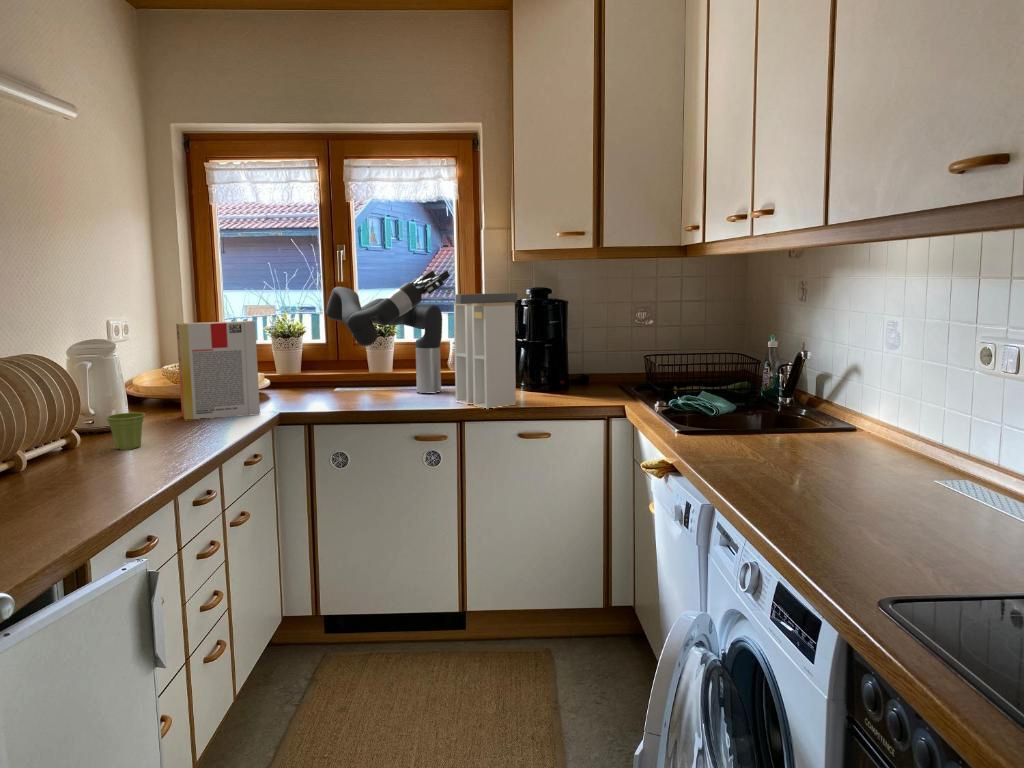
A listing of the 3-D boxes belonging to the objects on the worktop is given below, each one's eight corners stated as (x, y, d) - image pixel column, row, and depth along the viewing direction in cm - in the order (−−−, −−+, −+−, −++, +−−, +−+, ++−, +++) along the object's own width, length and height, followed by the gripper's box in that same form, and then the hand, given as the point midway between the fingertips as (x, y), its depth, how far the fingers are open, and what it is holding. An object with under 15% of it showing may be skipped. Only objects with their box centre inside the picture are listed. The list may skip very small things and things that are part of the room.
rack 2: (501, 402, 288) (500, 301, 283) (515, 405, 282) (514, 302, 277) (472, 406, 281) (470, 302, 276) (486, 409, 274) (484, 303, 270)
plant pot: (107, 453, 212) (104, 419, 211) (109, 446, 221) (106, 414, 219) (147, 449, 216) (145, 416, 215) (147, 443, 224) (145, 411, 223)
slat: (512, 301, 283) (511, 292, 283) (517, 301, 281) (517, 293, 280) (455, 303, 269) (455, 294, 269) (460, 303, 267) (460, 294, 267)
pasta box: (255, 410, 276) (250, 320, 272) (259, 414, 269) (255, 322, 265) (182, 416, 266) (176, 323, 262) (184, 420, 259) (178, 324, 255)
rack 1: (483, 399, 297) (482, 301, 292) (496, 401, 290) (495, 301, 286) (455, 402, 290) (453, 302, 285) (468, 405, 283) (466, 302, 279)
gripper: (409, 289, 249) (447, 262, 257) (386, 289, 261) (424, 263, 268) (420, 310, 253) (458, 283, 260) (397, 309, 264) (434, 283, 271)
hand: (440, 273), depth 264 cm, fingers open, 8 cm apart
